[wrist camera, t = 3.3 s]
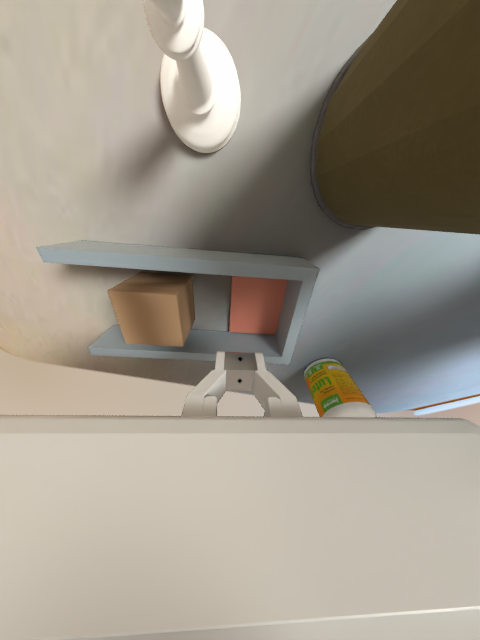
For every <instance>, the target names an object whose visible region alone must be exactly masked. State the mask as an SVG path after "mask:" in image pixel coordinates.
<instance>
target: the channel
mask: <svg viewBox="0 0 480 640" xmlns="http://www.w3.org/2000/svg"><path fill="white" fill-rule="evenodd" d="M36 249H37V251H38V252H39V254H40V256H41V258H42V260H43V262H47V263H61V264H75V265H89V266H103V267H117V268H131V269H145V270H158V271H172V272H186V273H200V274H214V275H228V276H232V290H231V309H230V328H229V331H211V330H194V329H191V330H190V332H189V334H188V337H187V339H186V341H185V344H184V346H183V347H178V346H159V345H140V344H126V342H125V339H124V337H123V334H122V331H121V328H120V325H113V326H112V327H111V328H110V329H108V330H107V331H106V332H105V333H104V334H103V335H102V336H100V337H99V338H98V339H97V340H96V341H95V342H93V343H92V344H91V345H90V346H89V347H88V350H89V352H90V353H91V355H94V356H115V357H136V358H157V359H178V360H199V361H216V355H217V351H222V352H248V353H263V357H264V362H265V364H282V365H289V364H290V361H291V358H292V354H293V351H294V348H295V345H296V342H297V339H298V335H299V332H300V329H301V326H302V323H303V320H304V317H305V313H306V310H307V307H308V304H309V301H310V298H311V294H312V291H313V288H314V285H315V282H316V279H317V276H318V272H319V268H318V267H316V266H315V265H313V264H311V263H310V262H308V261H307V260H305V259H304V258H300V257H288V256H275V255H262V254H249V253H236V252H224V251H211V250H198V249H185V248H172V247H160V246H147V245H134V244H121V243H109V242H96V241H83V240H81V241H75V242H68V243H61V244H55V245H48V246H41V247H36Z"/></svg>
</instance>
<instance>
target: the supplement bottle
mask: <svg viewBox="0 0 480 640" xmlns="http://www.w3.org/2000/svg"><path fill="white" fill-rule="evenodd" d="M304 378H305V381H306V384H307V386H308V389H309V391H310V393H311V396H312V398H313V401H314V403H315V406H316V408H317V411H318V413H319V416H320V417H376V413H375V411H374V410H373V408H372V407H371V405H370V404H369V402H368V401H367V400H366V398H365V397H364V395H363V394H362V392H361V391H360V390H359V388H358V387H357V385H356V384H355V382H354V381H353V380H352V378H351V377H350V375H349V374H348V372H347V371H346V370H345V368H344V367H343V365H342V364H341V363H340V362H339V361H337V360H334V359H320V360H317V361H315V362H313V363H311V364H310V365H309V366H308V367H307V368H306V370H305V372H304Z"/></svg>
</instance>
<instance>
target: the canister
mask: <svg viewBox="0 0 480 640" xmlns="http://www.w3.org/2000/svg"><path fill="white" fill-rule="evenodd" d="M311 175H312V186H313V189H314V192H315V195H316V198H317V200H318V203H319V205H320V207H321V209H322V210H323V211H324V212H325V213H326V214H327V216H328V217H329V218H331V219H332V220H334V221H335V222H337V223H338V224H339V225H343V226H346V227H349V228H360V229H362V228H372V227H376V226H377V227H390V228H403V229H416V230H430V231H443V232H456V233H469V234H480V0H397V1H396V3H395V4H394V5H393V7H392V8H391V9H390V11H389V12H388V13H387V15H386V16H385V18H384V19H383V20H382V22H381V23H380V24H379V26H378V27H377V28H376V30H375V31H374V33H372V34H371V35H370V36H369V37H368V39H367V40H366V41H365V42H364V43H363V44H362V45H361V46H360V47H359V48H358V49H357V50H356V51H355V53H354V54H353V55H352V57H351V58H350V59H349V61H348V62H347V63H346V65H345V66H344V67H343V69H342V70H341V72H340V74H339V75H338V77H337V79H336V80H335V82H334V84H333V86H332V88H331V90H330V92H329V94H328V96H327V98H326V100H325V102H324V105H323V108H322V111H321V114H320V117H319V120H318V123H317V126H316V129H315V132H314V136H313V145H312V156H311Z"/></svg>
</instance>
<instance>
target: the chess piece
mask: <svg viewBox="0 0 480 640" xmlns="http://www.w3.org/2000/svg"><path fill="white" fill-rule="evenodd" d="M143 2H144V8H145V14H146V19H147V23H148V26H149V29H150V31H151V34H152V36H153V38H154V40H155V42H156V43H157V45H158V46H159V48H160V49H161V50H162V51H163V52H164V56H163V60H162V65H161V73H160V87H161V95H162V100H163V105H164V108H165V111H166V114H167V116H168V119H169V121H170V124H171V126H172V128H173V129H174V131H175V133H176V134H177V136H178V137H179V138H180V139H181V141H182V142H183V143H184V144H186V145H187V146H188V147H189V148H191V149H193V150H195V151H197V152H201V153H212V152H215V151H217V150H219V149H221V148H222V147H224V146H225V145H226V144H227V143H228V141H229V140H230V139H231V137H232V135H233V133H234V131H235V129H236V126H237V123H238V120H239V115H240V106H241V95H240V86H239V81H238V76H237V72H236V68H235V65H234V62H233V60H232V57H231V55H230V53H229V51H228V49H227V48H226V46H225V45H224V43H223V42H222V41H221V40H220V39H219V37H217V36H216V35H215V34H214V33H213V32H211V31H210V30H208V29H206V28H204V7H203V0H143Z"/></svg>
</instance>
